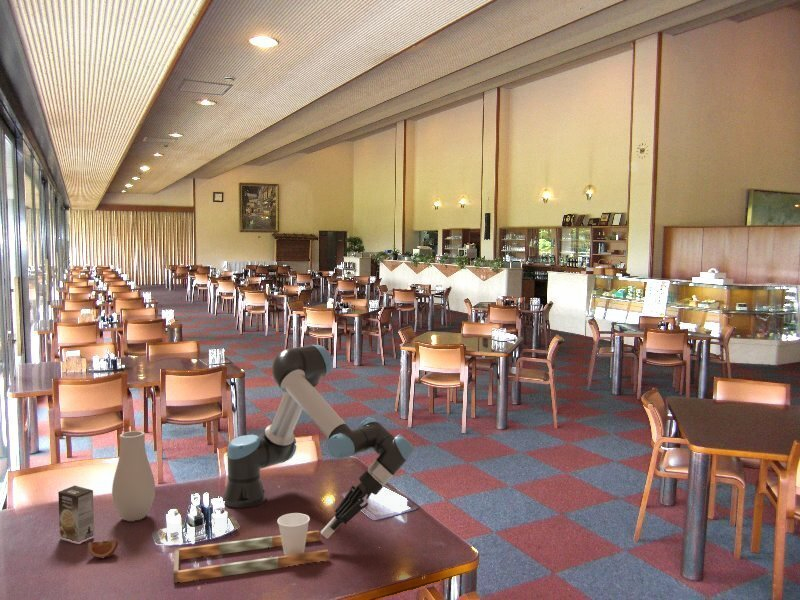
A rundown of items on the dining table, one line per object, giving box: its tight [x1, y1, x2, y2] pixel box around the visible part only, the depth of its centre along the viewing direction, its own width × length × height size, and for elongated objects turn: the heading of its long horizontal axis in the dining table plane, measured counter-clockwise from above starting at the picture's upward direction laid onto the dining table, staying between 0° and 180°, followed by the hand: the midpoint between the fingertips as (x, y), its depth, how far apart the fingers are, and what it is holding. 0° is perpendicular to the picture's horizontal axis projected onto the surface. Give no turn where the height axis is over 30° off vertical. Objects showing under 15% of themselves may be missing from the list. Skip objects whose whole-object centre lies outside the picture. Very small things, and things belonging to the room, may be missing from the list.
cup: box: [276, 512, 311, 556], centre depth 199 cm, size 10×10×11 cm
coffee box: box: [57, 485, 95, 542], centre depth 209 cm, size 9×6×16 cm
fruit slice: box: [87, 539, 119, 559], centre depth 198 cm, size 8×7×5 cm
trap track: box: [173, 529, 329, 584], centre depth 196 cm, size 44×15×3 cm, turn 108°
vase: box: [111, 430, 156, 522], centre depth 224 cm, size 14×14×30 cm
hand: (323, 535), depth 202 cm, fingers closed
